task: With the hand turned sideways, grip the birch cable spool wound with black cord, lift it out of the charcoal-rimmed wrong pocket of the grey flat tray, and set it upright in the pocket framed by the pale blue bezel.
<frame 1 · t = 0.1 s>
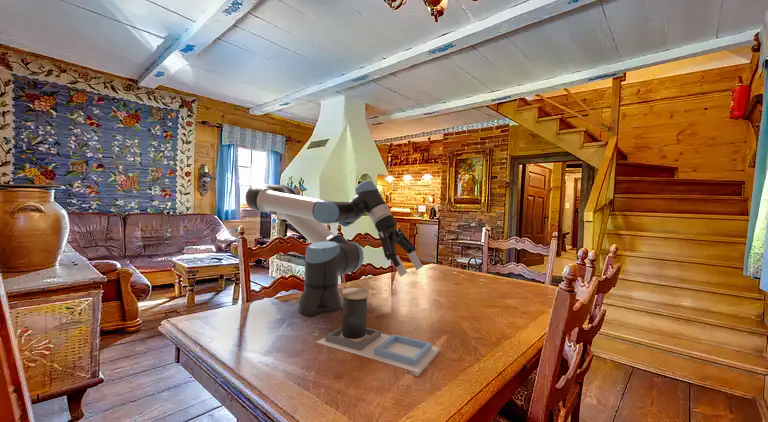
hand: (412, 271, 117), 15 cm above the table, fingers open, 13 cm apart
cable spool: (353, 338, 93), point 1 cm above the table, touching grey flat tray
grey flat tray: (377, 348, 89), on the table
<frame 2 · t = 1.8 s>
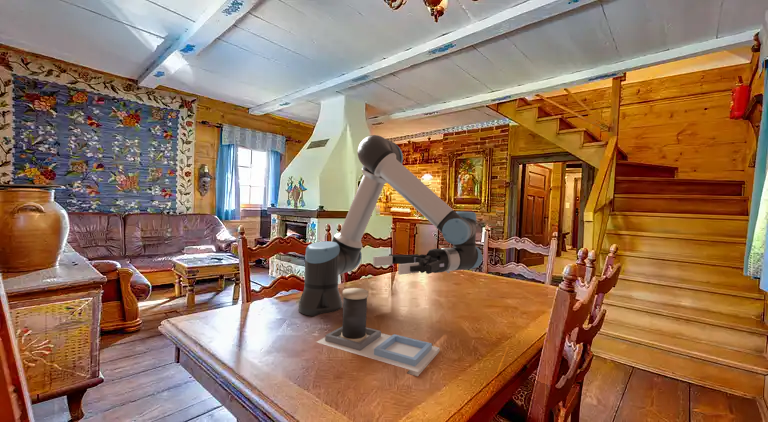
hand: (385, 265, 97), 20 cm above the table, fingers open, 13 cm apart
nothing on the table moved.
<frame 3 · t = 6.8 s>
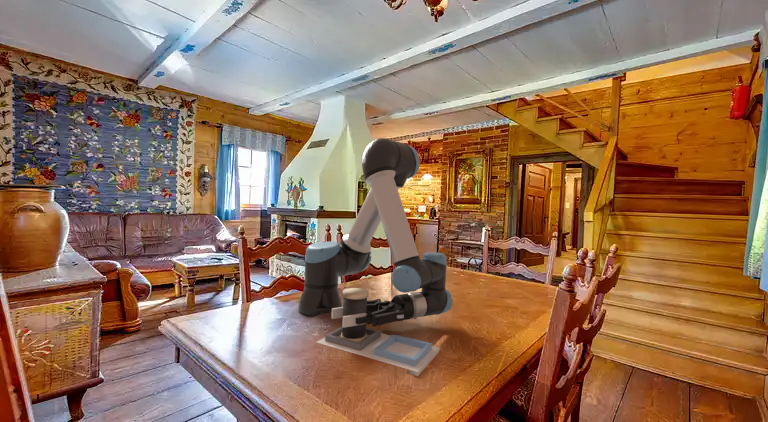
hand: (337, 317, 90), 7 cm above the table, fingers closed on cable spool, 6 cm apart
cable spool: (353, 338, 93), point 1 cm above the table, touching grey flat tray, gripper
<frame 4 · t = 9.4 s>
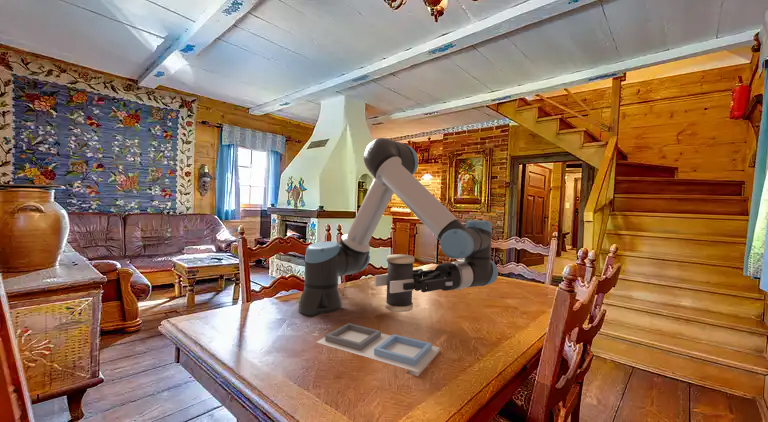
hand: (382, 284, 83), 19 cm above the table, fingers closed on cable spool, 6 cm apart
cable spool: (398, 307, 86), point 12 cm above the table, touching gripper
when the fingers open (9 cm above the table, at t = 12.1 s): cable spool drops 1 cm, resting on grey flat tray.
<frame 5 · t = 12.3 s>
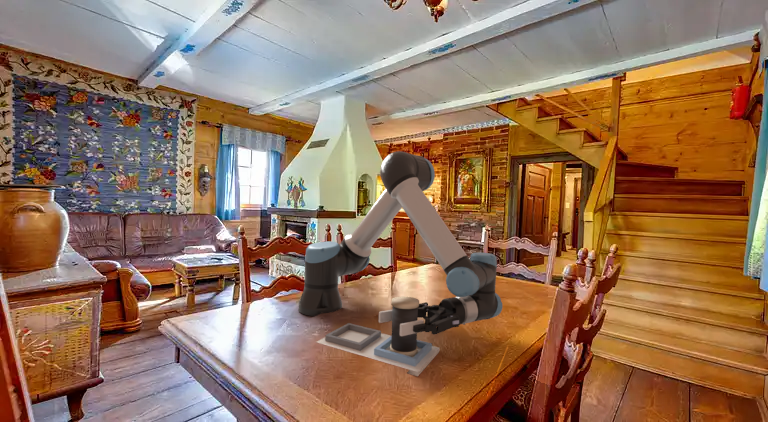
hand: (389, 323, 83), 9 cm above the table, fingers open, 9 cm apart
cable spool: (403, 351, 86), point 1 cm above the table, touching grey flat tray
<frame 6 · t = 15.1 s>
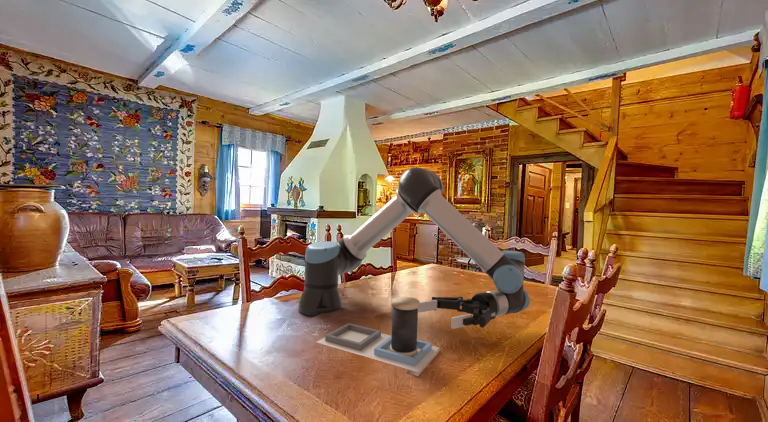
hand: (434, 314, 91), 9 cm above the table, fingers open, 13 cm apart
nothing on the table moved.
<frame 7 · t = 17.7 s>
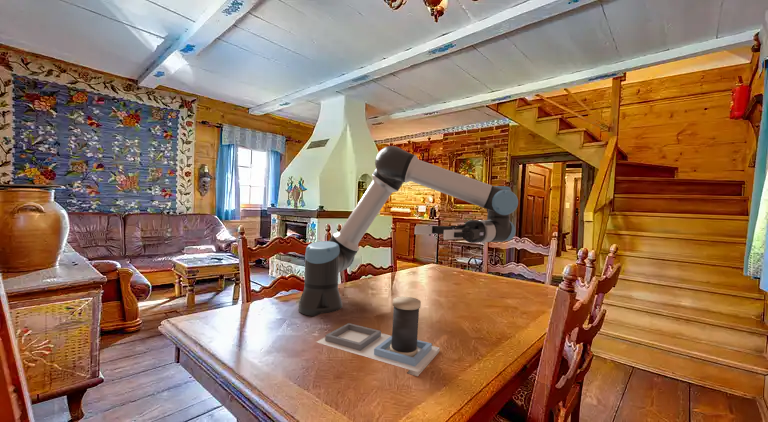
hand: (429, 232, 102), 30 cm above the table, fingers open, 13 cm apart
nothing on the table moved.
at the end: cable spool 0.0 cm from the target spot, point 1.1 cm above the table; cable spool tilted 1°; the gripper is holding nothing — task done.
